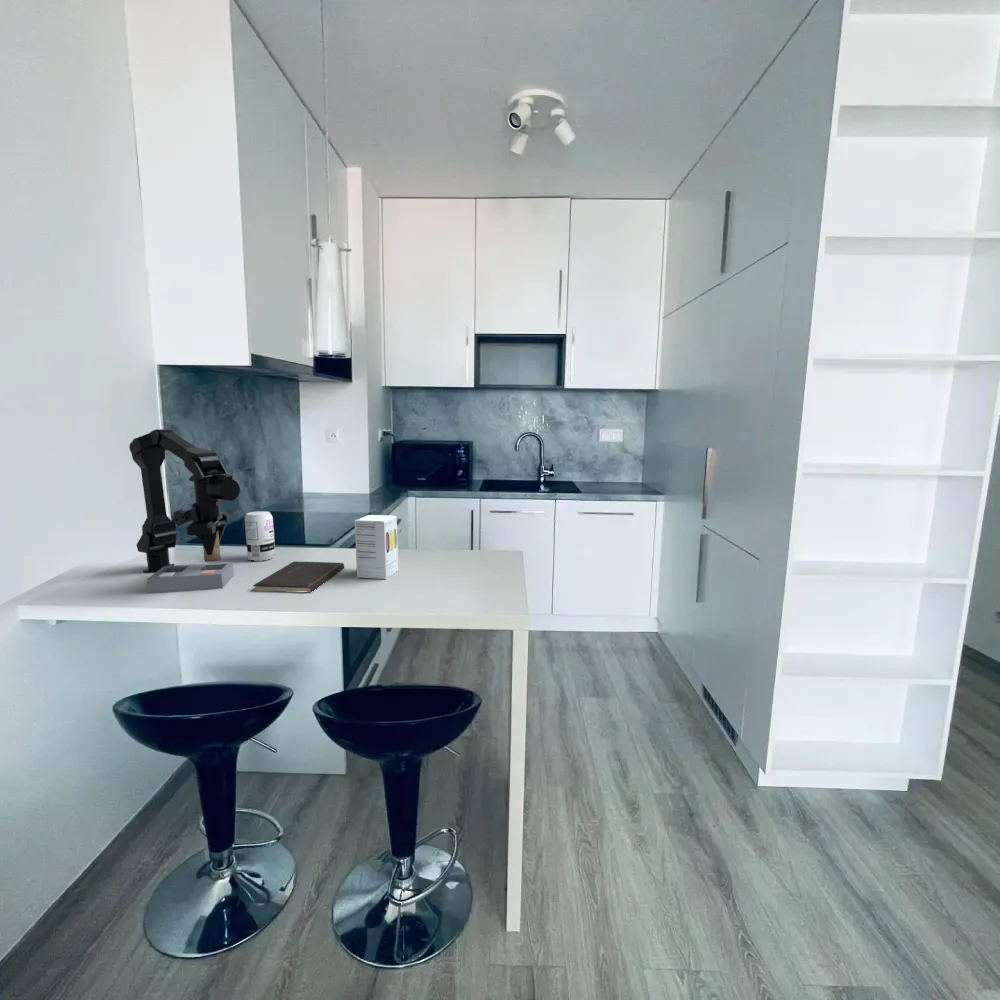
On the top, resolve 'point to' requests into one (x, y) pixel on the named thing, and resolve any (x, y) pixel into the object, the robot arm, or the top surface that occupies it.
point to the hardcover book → (300, 576)
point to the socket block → (190, 577)
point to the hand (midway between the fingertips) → (212, 553)
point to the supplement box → (376, 546)
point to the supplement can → (259, 535)
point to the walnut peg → (215, 554)
